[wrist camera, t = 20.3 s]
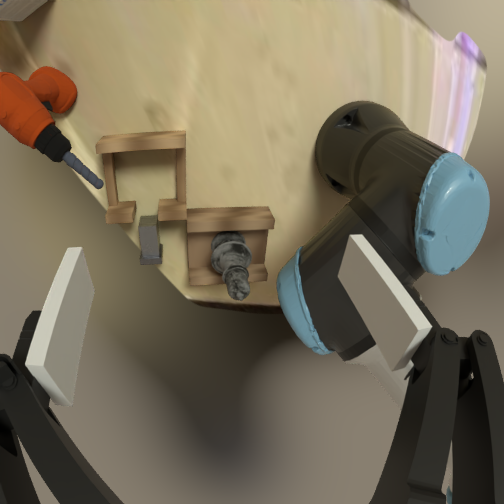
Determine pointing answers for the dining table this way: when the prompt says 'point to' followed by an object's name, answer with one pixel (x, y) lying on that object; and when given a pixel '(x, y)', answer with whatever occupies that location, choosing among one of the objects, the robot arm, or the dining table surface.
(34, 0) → the light bulb box
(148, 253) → the bar
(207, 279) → the rack
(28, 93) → the toy drill
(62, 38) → the dining table surface
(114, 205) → the socket frame
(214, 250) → the chess piece
